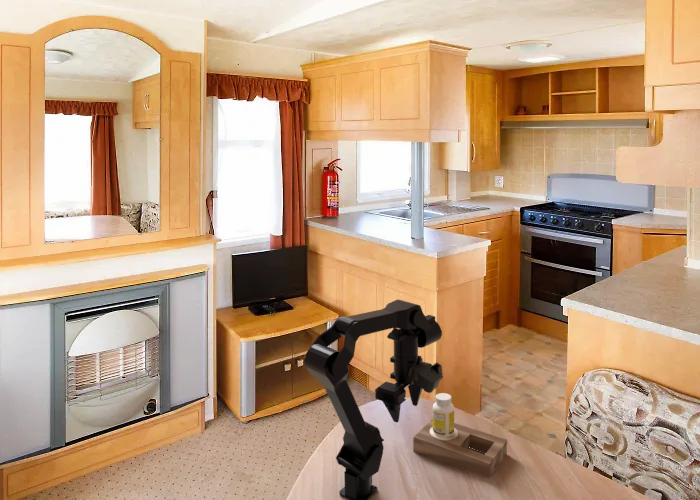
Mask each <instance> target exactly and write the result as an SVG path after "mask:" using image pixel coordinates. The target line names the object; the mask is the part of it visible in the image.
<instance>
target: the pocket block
mask: <svg viewBox="0 0 700 500" xmlns="http://www.w3.org/2000/svg"><path fill="white" fill-rule="evenodd" d="M412 441H413V446H412V447H413V448H412V449H413V452H415V453H416V454H417V453H418V454H420V455H422V456H425V457H429V458H430V459H434V460H437V461H439V462H442V463H444V464H447V465H449V466H452V467H455V468H458V469H461V470H462V471H466V472H468V473H471V474H475V475H477V476H479V477H482V478H484V479H487V480H489V479H490V478H492V475H493V474H494V472H495V471H496V470H497V468H498V467H499V465H500V464H501V463H502V461H503V460H504V459H505V457H507V453H508V439H506V438H504V437H499V436H497V435H493V434H490V433H488V432H484V431H482V430H478V429H475V428H473V427H469V426H465V425H463V424H459V423H456V422H454V433H453V435H451V436H448V437H441V436H438V435H436V434H435V433H434V432H433V418H432V419H430V421H429V422H428V423H427V424H426V425H424V426H423V427H422V428H421V429H420V430H419V431H418V432H417V433H416V434H415V435H414V436H413V439H412ZM469 447H470V448H469ZM471 448H473V449H475V450H473V449H471ZM476 450H478V451H476ZM479 451H481V452H479ZM482 452H483V453H482ZM485 453H486V454H485Z"/></svg>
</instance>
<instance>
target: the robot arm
mask: <svg viewBox="0 0 700 500" xmlns="http://www.w3.org/2000/svg"><path fill="white" fill-rule="evenodd" d="M390 329H392V330H391V331H390V332H389V333H388V334H387V335H386V336H387V339H390V340H392V341H393V356H390V358H389V361H390V363H393V372H391V373H389V374H390V377H389V378H390V379H393V380H394V381H395V383H392V382H391V381H390V382H389V381H384V382H383V383H382V384H380V385H379V386H378V387H376V388H375V389H374V398H375V399H376V400H379V401H381V402H382V403H383V405H384V406H385V408H386V409H387V412H388V413H389V415H390V417H391V419H392V421H393V422H394V423H399V421H400V415H401V407H402V406H401V405H402V404H403V403H405V402H406V400H407V399H406V396H407V395H406V394H407V390H406V389H407V388H408V392H409V396H410V400H411V405H412V406H414V407H417V406H418V404H419V401H420V398H421V396H422V395H421V394H422V392H423V391H424V392H426V393H427V394H428V393H429V394H431V393H432V392H433V391H434V390H435V389H437V388H438V387H439V383H440V382H441V381H442V379H443V378H444V373H443V367H442V366H443V365H442V364H440V363H438V362H434V363H433V364H432V363H429V362H427V361H426V362H425V361H423V357H422V355H419V348H421V349H422V348H425V347H427V346H430V345H432V344H433V343H436V342H438V341H439V340H440V339H441V338H442V336H443V331H442V328H441V326H440V324H439V323H438V322H437V321H436V316H434V315H431V314H427V315H425V313H424V312H423V309H422V306H421V305H420V304H417V303H413V302H409V301H407V300H402V299H396V300H392V301H391V302H389V303H387V304H386V306H385V307H383V308H382V309H377V310H373V311H368V312H367V311H366V312H364V313H358V314H353V315H348V316H345V315H342V316H339V317H337V318H336V320H335V321H334V323H333V324H331V327H329V328H328V329H326V330H325V331H323V332H321V334H319V335H318V336H317V337H316V339H315V340H314V341H313V343H312V344H311V346H310V347H309V348H308V349H307V351H306V353H305V357H304V358H303V363H304V366H305V368H306V370H307V371H308V372H309V373H310V375H311V376H312V377H314V379H316V381H317V382H319V383H320V384H321V385H322V386H323V387H324V390H325V392H326V394H327V395H328V398H329V400H330V402H331V404H332V406H333V408H334V411H335V412H336V415H337V417H338V419H339V421H340V424H341V425H342V428H343V430H344V433H343V437H342V442H343V444H342V446H341V448H340V449H339V451H338V454H336V457H335V460H336V462H337V464H338V465H339V466H342V468H345V471H343V472H344V476H343V477H344V486H343V488H342V489H340V490H339V492H338V493H339V495H340V496H342V497H344V498H347V499H348V500H369V499H370V498H371V497H372V496H373V495H374V494H375V493H376V492H377V491H378V487H377V486H376V485H374V484H373V476H374V475H375V474H376V473H378V472H379V471H380V467H381V462H382V459H383V458H382V457H383V454H384V444H383V443H384V441H385V439H384V438H383V437H382V436H381V430H380V429H379V428H378V427H377V426H375V425H373V424H371V423H369V422H367V421H365V420H364V417H363V414H362V412H361V410H360V408H359V405H358V403H357V401H356V399H355V396H354V394H353V391H352V390H351V387H350V385H349V383H348V381H347V379H348V375H349V372H350V371H349V370H350V369H349V364H350V363H351V361H352V360H353V359H354V356H355V350H356V343H357V341H358V340H359V338H360V337H362V336H367V335H371V334H374V333H378V332H382V331H386V330H390ZM341 337H344V341H343V347H342V348H341V349H340V351H338V350H336V349H334V348H331V347H329V346H330V345H332V344H333V343H335V342H337V341H338V340H339V339H341Z"/></svg>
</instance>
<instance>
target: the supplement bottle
mask: <svg viewBox="0 0 700 500" xmlns="http://www.w3.org/2000/svg"><path fill="white" fill-rule="evenodd" d="M434 398H435V399H434V400H435V401H434V403H433V405H432V419H433V432H434V433H435V434H436V435H438V436H441V437H448V436H451V435H453V433H454V423H455V406H454V404H453V403H452V396H451V394H449V393H446V392H441V393H436V395H435V397H434Z"/></svg>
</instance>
